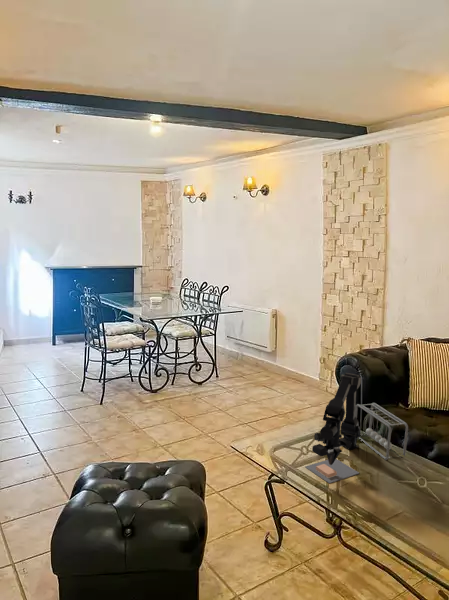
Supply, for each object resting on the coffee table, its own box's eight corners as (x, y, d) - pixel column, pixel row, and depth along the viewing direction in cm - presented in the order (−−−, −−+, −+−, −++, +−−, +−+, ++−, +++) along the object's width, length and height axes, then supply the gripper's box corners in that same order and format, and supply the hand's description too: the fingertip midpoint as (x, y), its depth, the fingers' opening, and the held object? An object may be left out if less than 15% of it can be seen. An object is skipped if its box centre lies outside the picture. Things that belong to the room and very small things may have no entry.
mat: (334, 458, 244) (334, 457, 244) (359, 473, 230) (359, 472, 230) (304, 467, 234) (305, 466, 234) (329, 483, 221) (329, 482, 221)
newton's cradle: (352, 434, 271) (355, 402, 268) (370, 432, 274) (373, 401, 271) (386, 461, 243) (390, 426, 240) (405, 459, 246) (409, 424, 243)
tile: (324, 463, 234) (316, 466, 231) (336, 471, 227) (328, 474, 224) (324, 467, 234) (315, 470, 231) (336, 475, 227) (328, 478, 225)
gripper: (336, 421, 239) (333, 452, 241) (305, 428, 229) (302, 461, 232) (353, 430, 229) (350, 462, 232) (322, 438, 220) (319, 472, 222)
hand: (330, 464), depth 230 cm, fingers closed
